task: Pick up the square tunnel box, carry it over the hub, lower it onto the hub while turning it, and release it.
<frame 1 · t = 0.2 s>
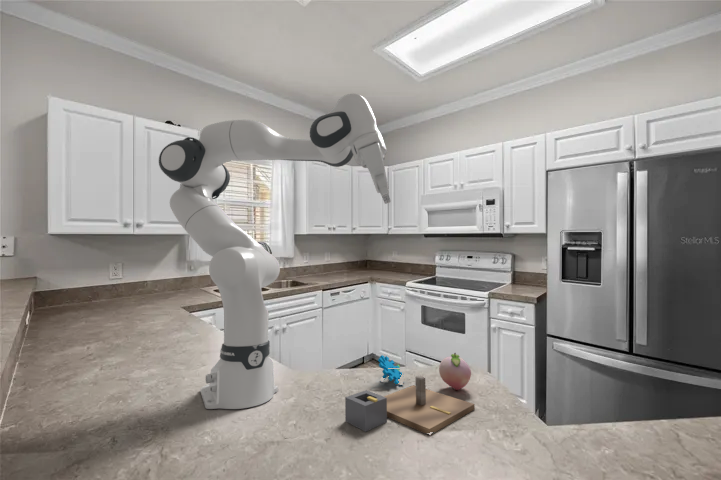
hand: (386, 198, 84), 51 cm above the countertop, tool tilted 20°, fingers open, 8 cm apart
gear: (392, 383, 95), on the countertop
decorative fruit: (455, 390, 88), on the countertop
square tunnel box: (366, 421, 70), on the countertop
hub: (420, 408, 76), on the countertop
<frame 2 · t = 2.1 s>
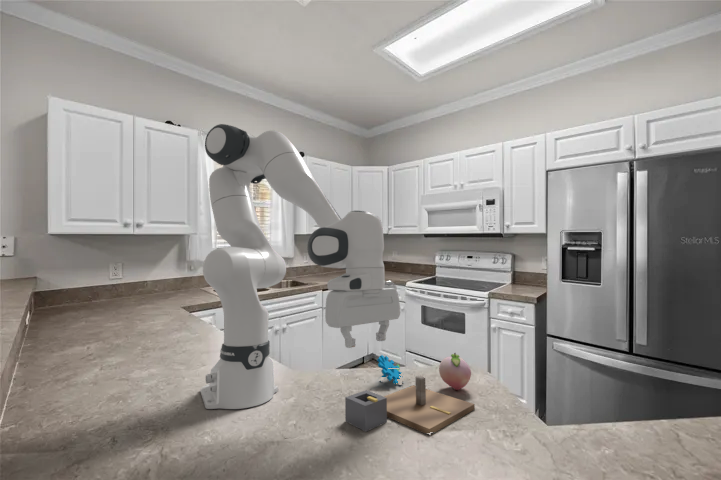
hand: (366, 343, 71), 16 cm above the countertop, tool pointing down, fingers open, 8 cm apart
nothing on the countertop moved.
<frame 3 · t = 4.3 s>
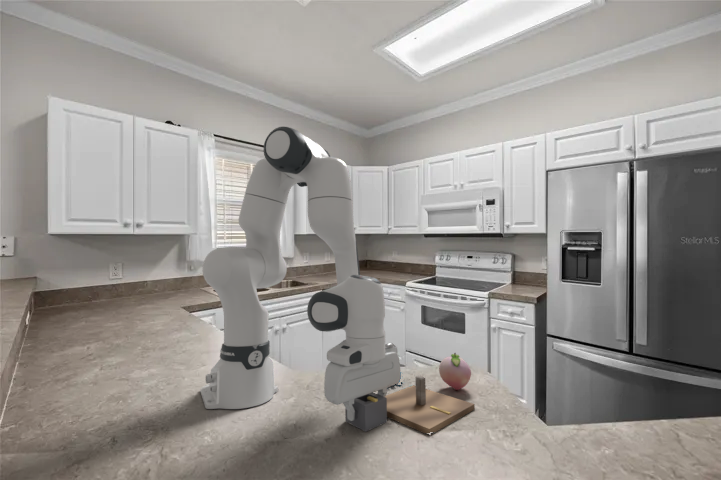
hand: (365, 413, 70), 2 cm above the countertop, tool pointing down, fingers closed on square tunnel box, 6 cm apart
square tunnel box: (366, 421, 70), on the countertop, touching gripper
everything else where it was.
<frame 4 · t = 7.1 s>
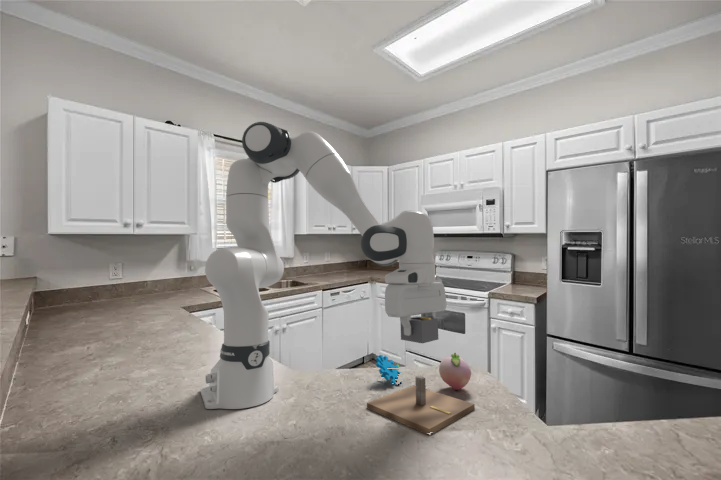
hand: (419, 332, 78), 18 cm above the countertop, tool pointing down, fingers closed on square tunnel box, 6 cm apart
square tunnel box: (419, 339, 78), point 16 cm above the countertop, touching gripper
everything else where it was.
when the fingers open (4 cm above the countertop, at t = 10.3 s): square tunnel box stays where it is, resting on hub.
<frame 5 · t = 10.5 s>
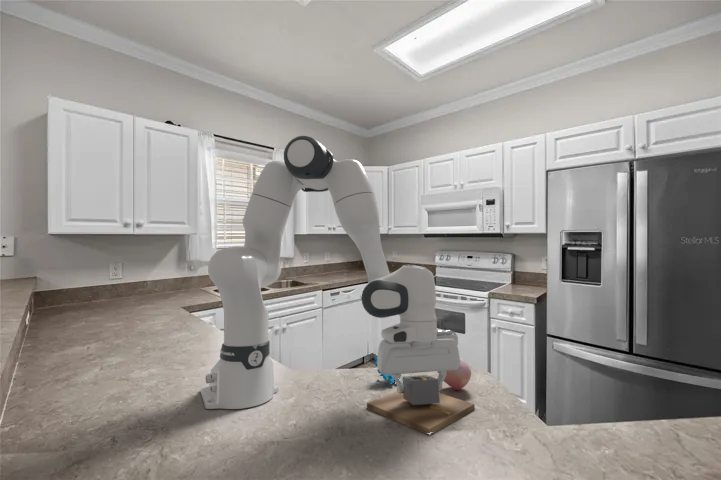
hand: (419, 390, 77), 4 cm above the countertop, tool pointing down, fingers open, 8 cm apart
square tunnel box: (421, 400, 76), point 2 cm above the countertop, tilted 8°, touching hub
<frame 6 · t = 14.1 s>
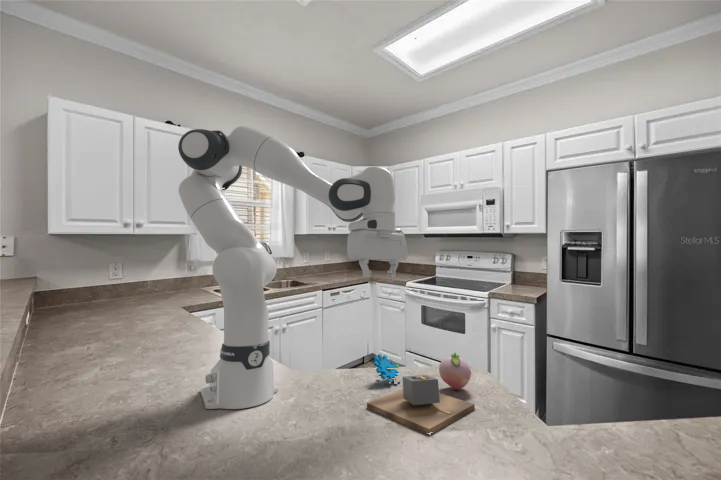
hand: (379, 277, 86), 31 cm above the countertop, tool pointing down, fingers open, 8 cm apart
at the end: square tunnel box 0.8 cm off-centre on the hub, point 2.1 cm above the hub's base; the gripper is holding nothing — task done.
